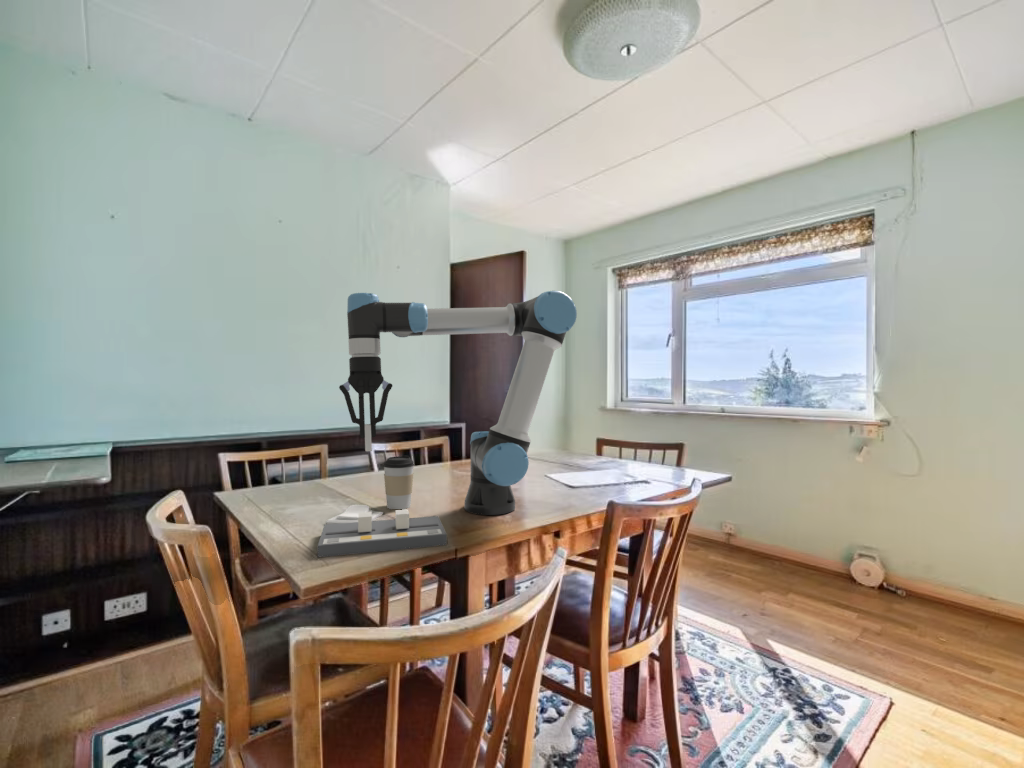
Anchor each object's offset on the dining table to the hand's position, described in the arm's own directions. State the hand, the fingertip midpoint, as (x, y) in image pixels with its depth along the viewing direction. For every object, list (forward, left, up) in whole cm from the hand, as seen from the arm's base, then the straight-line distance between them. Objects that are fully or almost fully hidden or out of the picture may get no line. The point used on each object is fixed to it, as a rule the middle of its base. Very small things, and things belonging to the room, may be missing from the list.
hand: (368, 450), depth 119 cm
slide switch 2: (-8, +7, -18) cm, 21 cm away
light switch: (+3, -13, -22) cm, 25 cm away
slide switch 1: (+1, +7, -18) cm, 19 cm away
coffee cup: (-9, -22, -21) cm, 31 cm away
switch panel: (-4, +7, -21) cm, 22 cm away
